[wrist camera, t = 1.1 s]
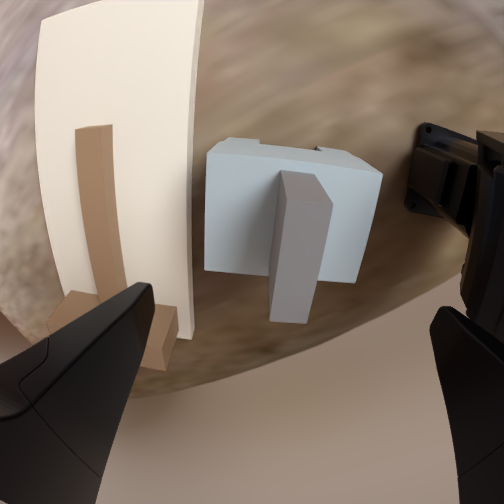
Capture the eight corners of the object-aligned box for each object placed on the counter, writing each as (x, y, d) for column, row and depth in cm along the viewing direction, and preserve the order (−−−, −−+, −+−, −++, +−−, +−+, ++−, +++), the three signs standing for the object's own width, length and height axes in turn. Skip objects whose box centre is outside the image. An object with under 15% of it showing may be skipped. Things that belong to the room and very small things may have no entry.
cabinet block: (349, 151, 18) (422, 203, 9) (333, 234, 21) (375, 334, 12) (224, 137, 18) (183, 174, 9) (219, 223, 21) (187, 322, 12)
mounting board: (205, -7, 13) (181, -45, 8) (194, 327, 25) (180, 381, 20) (53, 22, 13) (1, 14, 7) (79, 308, 25) (50, 350, 20)
